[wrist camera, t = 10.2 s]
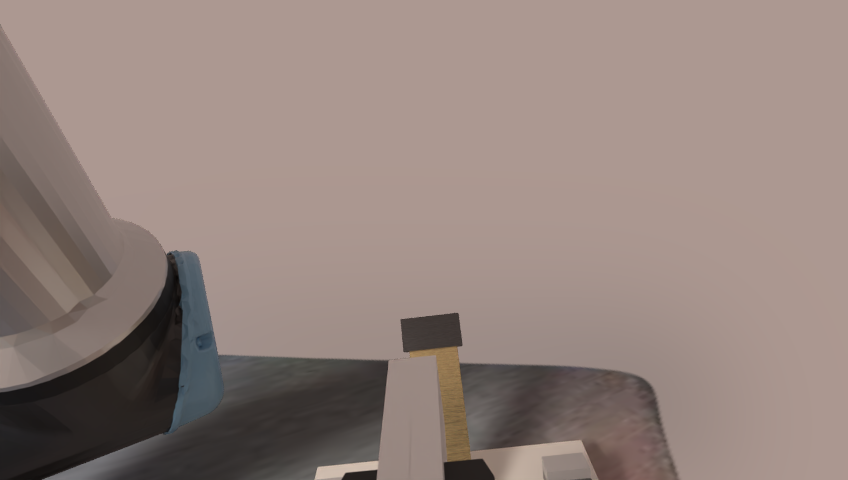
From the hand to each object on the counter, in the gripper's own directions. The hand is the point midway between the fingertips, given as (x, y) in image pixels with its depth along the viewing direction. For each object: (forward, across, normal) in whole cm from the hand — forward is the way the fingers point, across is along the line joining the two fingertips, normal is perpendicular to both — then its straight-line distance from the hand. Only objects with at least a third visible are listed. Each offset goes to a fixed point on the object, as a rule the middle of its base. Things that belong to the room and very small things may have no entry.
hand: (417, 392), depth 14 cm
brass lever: (+9, 0, -19) cm, 21 cm away
